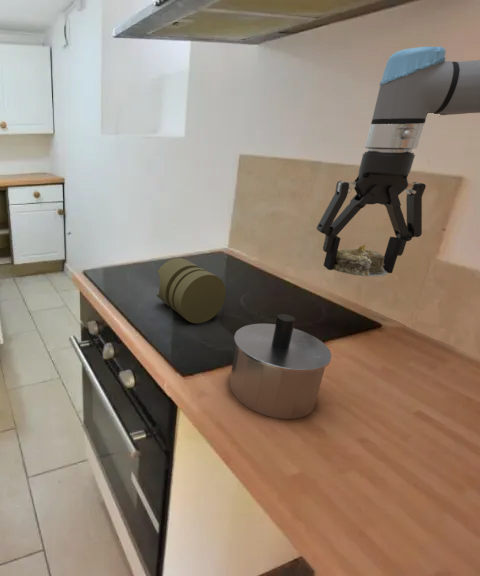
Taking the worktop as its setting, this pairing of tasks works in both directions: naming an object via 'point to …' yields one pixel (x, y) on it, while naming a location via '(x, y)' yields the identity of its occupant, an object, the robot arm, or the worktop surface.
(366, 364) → the worktop surface
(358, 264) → the cake
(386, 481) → the worktop surface
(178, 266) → the piston
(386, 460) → the worktop surface
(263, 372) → the pot
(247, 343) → the pot lid
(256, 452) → the worktop surface
